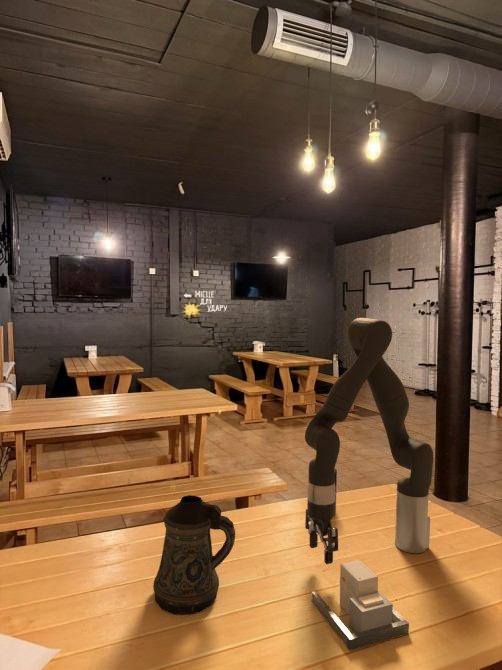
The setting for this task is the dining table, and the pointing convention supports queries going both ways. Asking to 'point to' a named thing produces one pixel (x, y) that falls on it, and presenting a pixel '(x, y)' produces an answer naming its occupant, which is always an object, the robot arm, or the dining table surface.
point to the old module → (369, 612)
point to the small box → (355, 582)
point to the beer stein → (191, 557)
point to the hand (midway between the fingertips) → (320, 554)
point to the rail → (365, 637)
